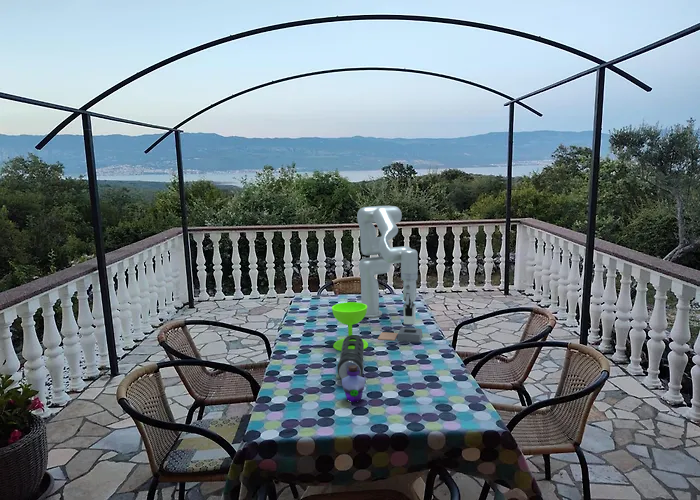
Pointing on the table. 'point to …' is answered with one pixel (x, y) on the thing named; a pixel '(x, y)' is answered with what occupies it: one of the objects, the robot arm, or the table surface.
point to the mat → (387, 336)
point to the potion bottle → (353, 384)
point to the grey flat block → (410, 334)
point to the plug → (410, 318)
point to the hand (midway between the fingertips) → (409, 314)
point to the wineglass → (349, 319)
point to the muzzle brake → (351, 355)
